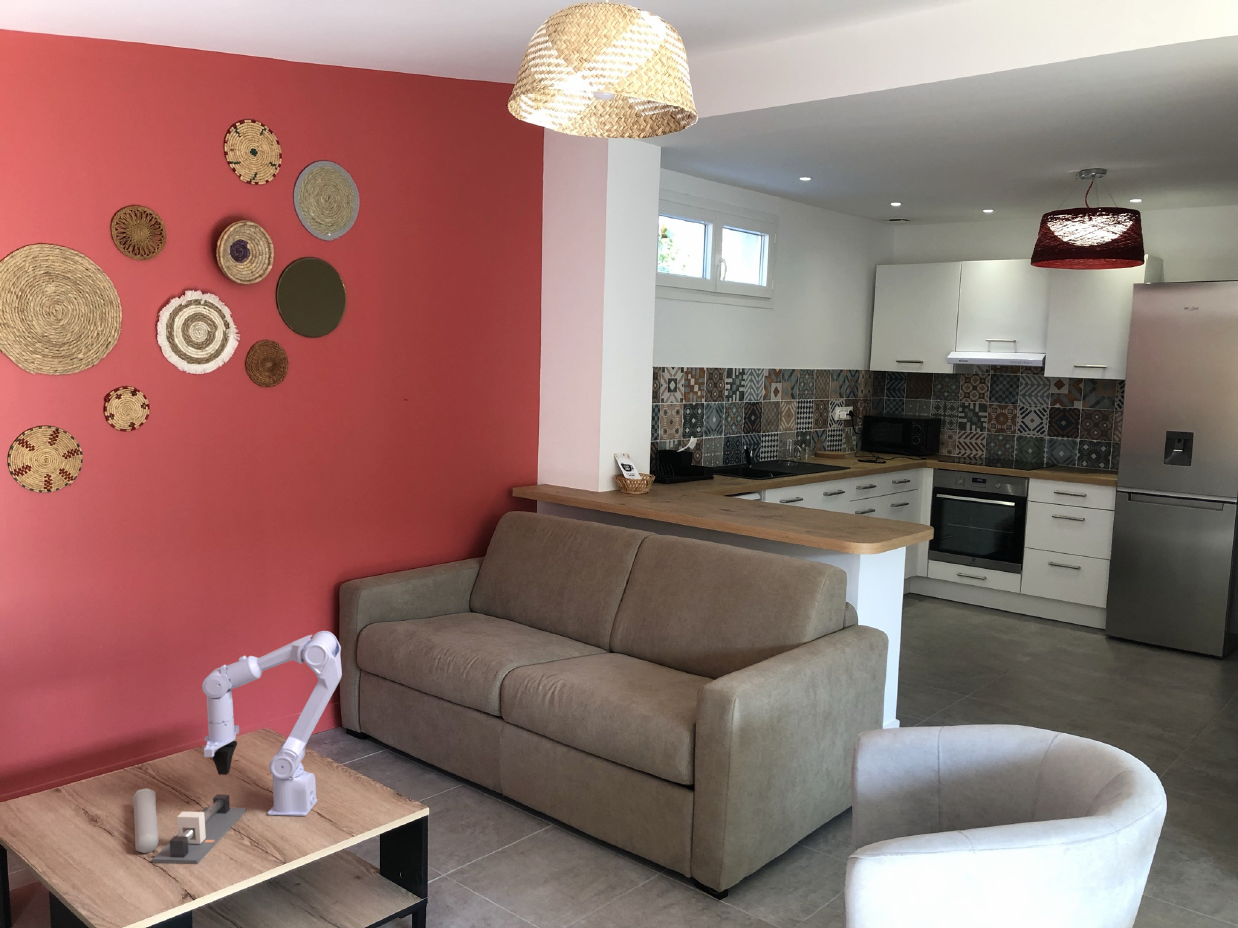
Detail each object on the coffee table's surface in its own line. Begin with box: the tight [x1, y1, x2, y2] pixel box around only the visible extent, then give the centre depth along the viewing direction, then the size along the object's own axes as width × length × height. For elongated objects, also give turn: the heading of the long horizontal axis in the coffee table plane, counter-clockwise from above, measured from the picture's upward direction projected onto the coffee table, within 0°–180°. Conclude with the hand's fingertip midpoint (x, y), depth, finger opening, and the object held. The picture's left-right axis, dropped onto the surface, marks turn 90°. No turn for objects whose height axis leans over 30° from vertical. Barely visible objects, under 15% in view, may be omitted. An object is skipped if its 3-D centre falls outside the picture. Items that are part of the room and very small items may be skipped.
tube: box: [131, 787, 160, 854], centre depth 225 cm, size 5×5×25 cm
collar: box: [176, 811, 206, 844], centre depth 217 cm, size 5×2×6 cm, turn 87°
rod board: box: [152, 793, 247, 865], centre depth 222 cm, size 10×24×5 cm, turn 177°
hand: (223, 773), depth 233 cm, fingers closed
